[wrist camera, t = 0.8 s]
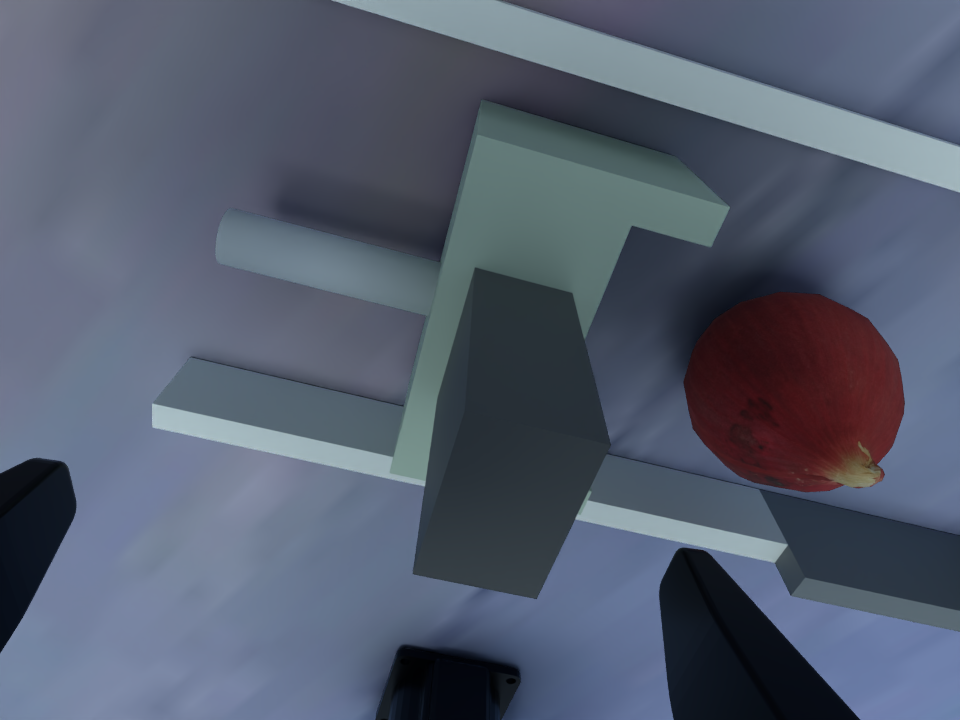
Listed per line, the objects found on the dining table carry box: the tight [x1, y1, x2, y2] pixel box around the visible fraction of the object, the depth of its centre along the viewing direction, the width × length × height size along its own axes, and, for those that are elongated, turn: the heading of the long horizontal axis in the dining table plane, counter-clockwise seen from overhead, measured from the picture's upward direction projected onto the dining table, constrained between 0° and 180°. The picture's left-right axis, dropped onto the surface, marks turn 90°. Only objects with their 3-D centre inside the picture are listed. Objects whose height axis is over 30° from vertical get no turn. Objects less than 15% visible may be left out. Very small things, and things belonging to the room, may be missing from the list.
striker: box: [215, 99, 730, 599], centre depth 16 cm, size 10×12×11 cm
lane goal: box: [152, 0, 960, 632], centre depth 19 cm, size 15×34×7 cm, turn 75°
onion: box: [684, 292, 905, 492], centre depth 19 cm, size 6×6×8 cm
